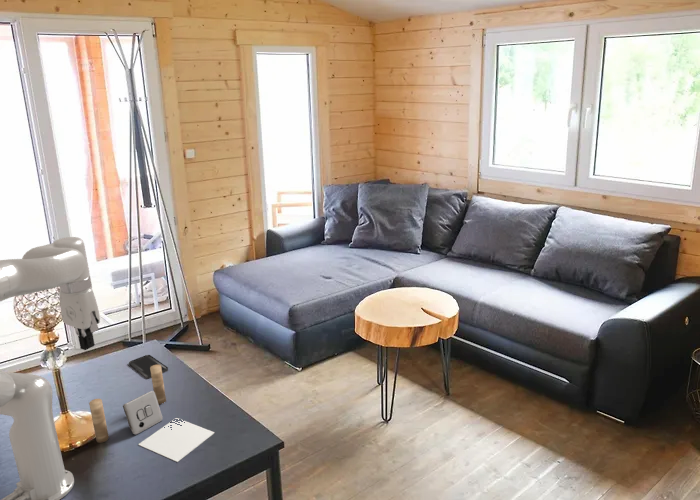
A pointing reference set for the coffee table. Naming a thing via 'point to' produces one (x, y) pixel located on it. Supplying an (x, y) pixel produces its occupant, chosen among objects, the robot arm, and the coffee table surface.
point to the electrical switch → (142, 412)
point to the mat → (176, 439)
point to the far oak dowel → (158, 383)
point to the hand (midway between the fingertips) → (87, 347)
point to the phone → (146, 365)
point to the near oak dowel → (99, 420)
